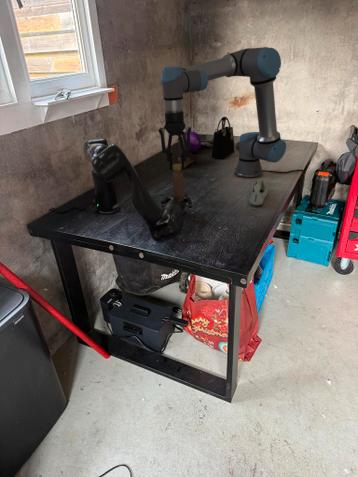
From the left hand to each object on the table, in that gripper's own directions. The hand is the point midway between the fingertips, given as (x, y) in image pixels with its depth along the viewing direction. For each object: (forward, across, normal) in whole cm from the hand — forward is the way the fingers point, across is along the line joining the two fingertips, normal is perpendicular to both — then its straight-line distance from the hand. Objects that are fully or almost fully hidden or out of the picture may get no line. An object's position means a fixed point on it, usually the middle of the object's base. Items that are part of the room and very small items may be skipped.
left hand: (179, 195), depth 150 cm
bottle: (-3, 0, +7) cm, 7 cm away
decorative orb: (+93, +8, +7) cm, 94 cm away
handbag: (+88, -15, +7) cm, 89 cm away
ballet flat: (+16, -36, +7) cm, 40 cm away
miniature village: (+110, -38, +7) cm, 117 cm away
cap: (-3, 0, -15) cm, 15 cm away
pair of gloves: (+118, -3, +7) cm, 118 cm away
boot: (+70, +8, +7) cm, 71 cm away
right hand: (-3, 0, -14) cm, 14 cm away
